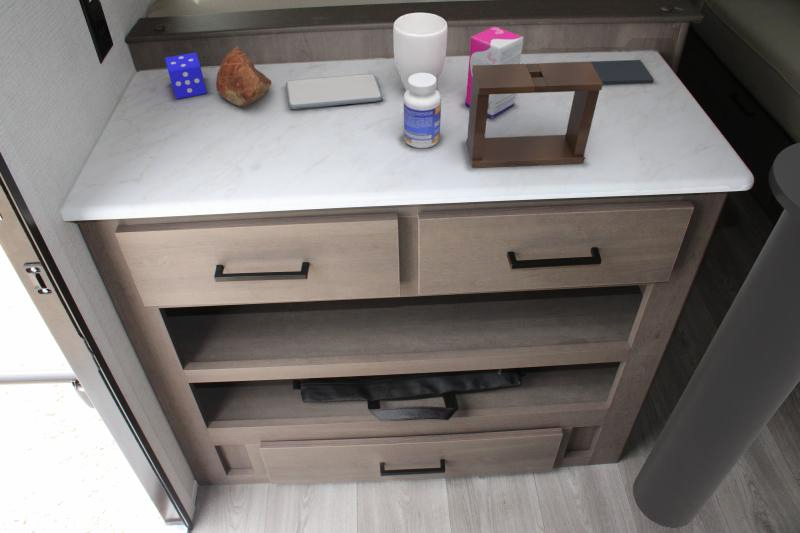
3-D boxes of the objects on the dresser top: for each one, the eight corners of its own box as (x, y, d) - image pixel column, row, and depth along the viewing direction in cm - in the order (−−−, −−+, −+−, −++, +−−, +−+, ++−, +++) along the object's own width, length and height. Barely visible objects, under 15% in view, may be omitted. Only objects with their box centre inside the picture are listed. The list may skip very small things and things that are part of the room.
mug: (447, 103, 102) (451, 34, 94) (396, 105, 101) (395, 36, 93) (438, 67, 110) (440, 1, 102) (390, 69, 110) (389, 3, 101)
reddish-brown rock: (219, 53, 106) (233, 14, 98) (267, 70, 110) (285, 34, 102) (206, 115, 101) (220, 79, 93) (257, 131, 105) (275, 97, 97)
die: (207, 94, 104) (200, 65, 100) (176, 99, 103) (168, 71, 99) (202, 79, 107) (196, 52, 104) (172, 85, 106) (164, 57, 103)
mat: (639, 62, 111) (640, 59, 110) (653, 82, 106) (654, 79, 105) (549, 65, 110) (549, 62, 110) (558, 86, 105) (559, 82, 105)
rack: (572, 139, 94) (590, 61, 85) (583, 163, 90) (603, 83, 81) (466, 144, 93) (472, 65, 85) (471, 168, 89) (479, 87, 80)
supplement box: (515, 105, 101) (525, 36, 93) (491, 119, 98) (499, 49, 90) (487, 92, 104) (494, 24, 96) (463, 105, 101) (468, 36, 93)
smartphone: (383, 97, 101) (288, 106, 99) (383, 102, 102) (289, 111, 100) (374, 72, 107) (285, 79, 105) (374, 77, 108) (286, 85, 105)
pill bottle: (441, 148, 93) (444, 88, 86) (404, 150, 92) (404, 90, 85) (437, 128, 96) (440, 69, 90) (402, 129, 96) (402, 70, 89)
